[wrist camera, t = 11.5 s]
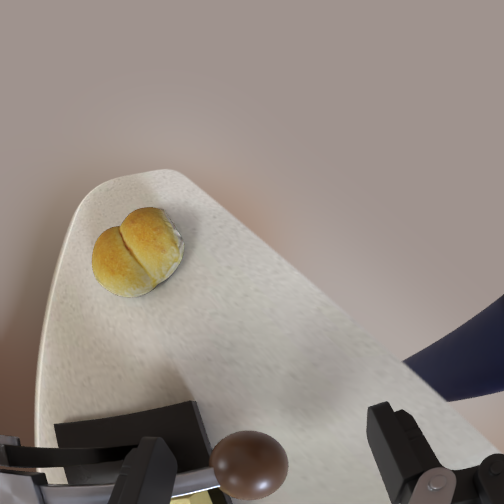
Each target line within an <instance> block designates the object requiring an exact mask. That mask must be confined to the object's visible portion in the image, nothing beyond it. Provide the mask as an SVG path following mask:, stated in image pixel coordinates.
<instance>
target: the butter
mask: <svg viewBox="0 0 504 504" xmlns="http://www.w3.org/2000/svg"><path fill="white" fill-rule="evenodd" d="M170 504H212V501H211V499H210V496H209V494H208V491H207V490H204V491H200V492H196V493H192V494H187V495H183V496H178V497H173V498H171V501H170Z"/></svg>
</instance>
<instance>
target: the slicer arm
mask: <svg viewBox="0 0 504 504" xmlns="http://www.w3.org/2000/svg"><path fill="white" fill-rule="evenodd" d="M288 467H289V466H288V458H287V455H286V452H285V450H284V449H283V447H282V446H281V445H280V443H279V442H277V441H276V440H275V439H274V438H272V437H271V436H269V435H267V434H264V433H261V432H257V431H240V432H236V433H233V434H230V435H228V436H226V437H225V438H223V439H222V440H221V441H220V442H219V443H218V444H217V445H216V446H215V447H214V449H213V451H212V453H211V455H210V458H209V466H208V467H204V468H200V469H196V470H192V471H187V472H182V473H177V474H176V478H175V483H174V487H173V492H172V497H171V498H173V497H178V496H183V495H187V494H192V493H196V492H200V491H204V490H208V489H212V488H216V487H218V488H219V489H220V490H221V491H223V492H224V493H226V494H227V495H229V496H231V497H234V498H237V499H242V500H256V499H261V498H264V497H266V496H268V495H270V494H272V493H274V492H275V491H276V490H277V489H278V488H279V487H280V486H281V485H282V484H283V482H284V480H285V479H286V476H287V473H288ZM115 483H116V482H114V483H100V484H48V482H47V479H46V475H45V473H38V472H24V471H14V470H6V469H0V504H107V503H108V501H109V498H110V496H111V493H112V490H113V488H114V485H115Z"/></svg>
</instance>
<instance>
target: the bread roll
mask: <svg viewBox="0 0 504 504" xmlns="http://www.w3.org/2000/svg"><path fill="white" fill-rule="evenodd" d="M183 251H184V242H183V240H182V238H181V236H180V234H179V232H178V231H177V229H176V227H175V225H174V224H173V223H172V222H171V219H170V218H169V217H168V215H167V213H166V212H165V210H160V209H157V208H153V207H146V208H141V209H137V210H135V211H133V212H132V213H130V214H129V215H128V216H127V217H126V218H125V220H124V221H123V223H122V224H121V226H117V227H112V228H110V229H108V230H106V231H104V232H103V233H102V234H101V235H100V236H99V238H98V239H97V241H96V243H95V246H94V249H93V254H92V268H93V272H94V275H95V278H96V280H97V281H98V282H99V283H100V285H101V286H103V287H104V288H105V289H107V290H108V291H110V292H111V293H114V294H115V295H118V296H122V297H128V298H129V297H138V296H141V295H144V294H146V293H148V292H150V291H151V290H153V289H154V288H155V287H156V285H158V284H159V283H161V282H163V281H165V280H166V279H168V278H169V277H170V276H171V274H172V273H173V272H174V271H175V270H176V268H177V267H178V265H179V263H180V262H181V260H182V257H183Z"/></svg>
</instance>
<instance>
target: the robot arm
mask: <svg viewBox="0 0 504 504" xmlns="http://www.w3.org/2000/svg"><path fill="white" fill-rule="evenodd" d="M366 432H367V439H368V443H369V445H370V448H371V451H372V453H373V456H374V458H375V461H376V463H377V466H378V469H379V471H380V474H381V476H382V479H383V482H384V484H385V487H386V490H387V492H388V495H389V498H390V501H391V503H392V504H400V503H401V504H504V454H493V455H490V456H488V457H487V458H485V459H484V460H483V461H482V463H481V464H480V465H478V466H475V467H471V468H467V469H462V470H450V469H447V468H445V467H443V466H442V465H441V464H440V463H439V461H438V459H437V458H436V456H435V454H434V452H433V450H432V449H431V447H430V445H429V443H428V442H427V440H426V438H425V437H424V435H423V433H422V431H421V430H420V428H418V425H417V423H416V421H415V420H414V418H413V416H412V415H410V414H409V413H407V412H406V411H404V410H403V409H402V410H399V411H396V412H394V411H393V409H392V408H391V406H390V404H389V403H388V402H387V401H386V402H383V403H380V404H377V405H373V406H370V407H368V412H367V429H366ZM176 474H177V461H176V458H175V456H174V455H173V453H172V452H171V450H170V449H169V447H168V446H167V444H166V443H165V441H164V440H163V438H161V437H142V439H141V440H140V443H139V446H138V448H133V449H132V450H131V451H130V452H129V453H128V454H127V455H126V457H125V459H124V462H123V464H122V468H121V470H120V472H119V475H118V477H117V480H116V483H115V485H114V488H113V490H112V493H111V496H110V498H109V501H108V503H107V504H170V501H171V497H172V492H173V487H174V483H175V478H176Z"/></svg>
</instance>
